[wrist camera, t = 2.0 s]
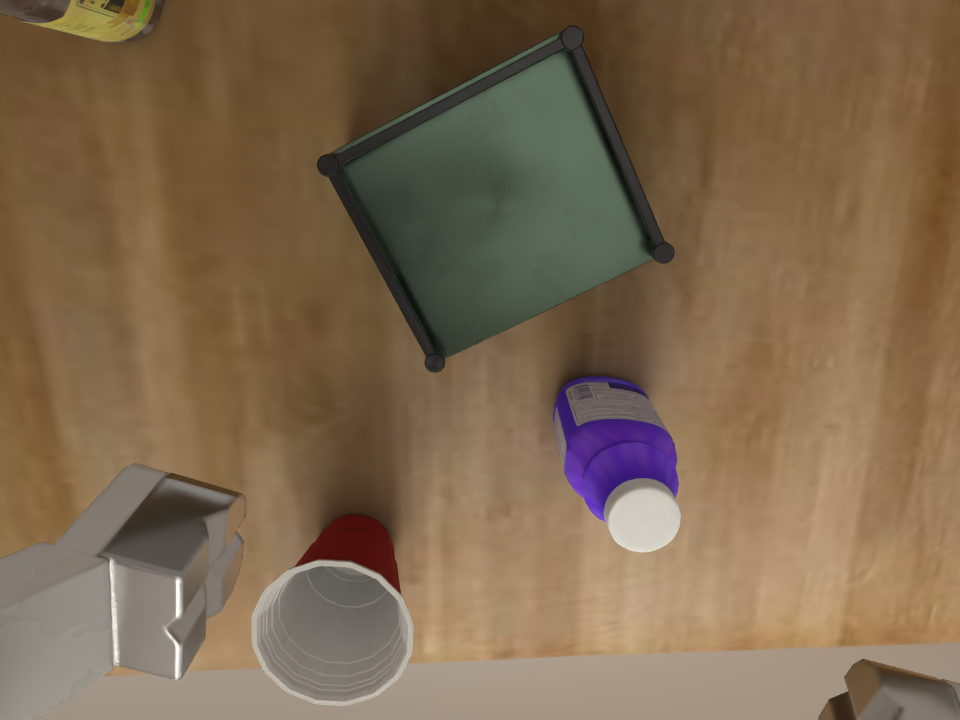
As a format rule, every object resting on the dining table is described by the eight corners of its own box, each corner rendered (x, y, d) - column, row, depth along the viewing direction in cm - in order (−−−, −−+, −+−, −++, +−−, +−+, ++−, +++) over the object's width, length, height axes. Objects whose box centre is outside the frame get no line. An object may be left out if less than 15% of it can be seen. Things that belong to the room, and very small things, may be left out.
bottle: (546, 438, 60) (575, 563, 44) (553, 368, 59) (587, 471, 42) (639, 443, 61) (704, 570, 44) (649, 374, 59) (721, 479, 42)
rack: (437, 327, 58) (430, 376, 47) (343, 150, 54) (312, 160, 43) (638, 229, 56) (677, 258, 45) (555, 38, 52) (578, 21, 41)
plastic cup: (412, 473, 61) (399, 557, 50) (433, 592, 64) (425, 696, 53) (275, 491, 61) (231, 578, 50) (303, 608, 65) (267, 715, 53)
